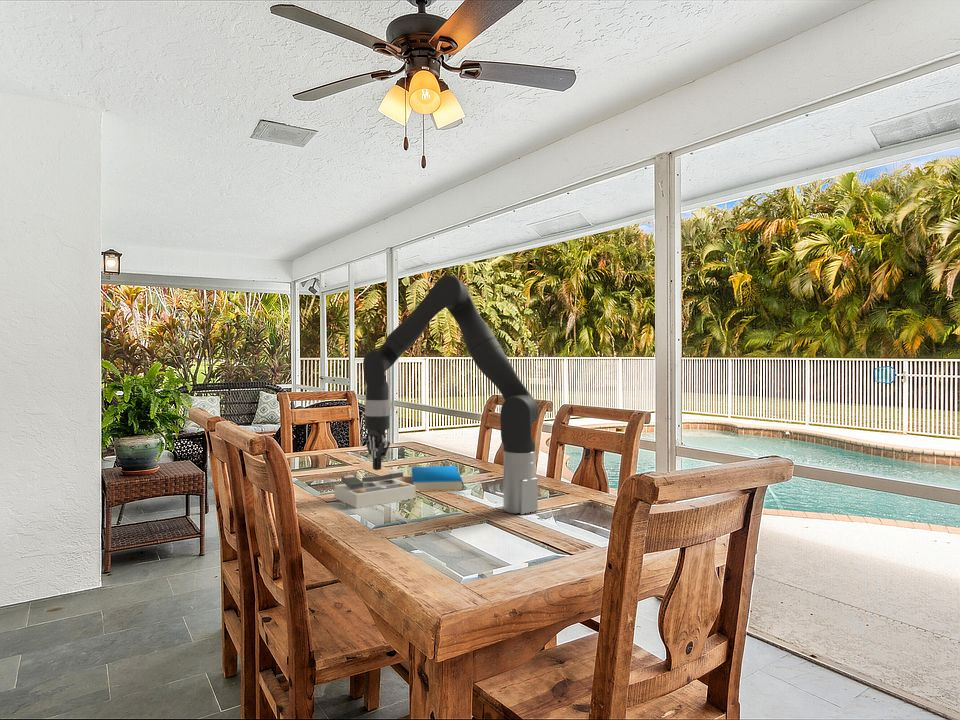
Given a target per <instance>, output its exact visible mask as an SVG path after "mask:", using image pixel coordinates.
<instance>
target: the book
mask: <svg viewBox="0 0 960 720" xmlns="http://www.w3.org/2000/svg"><path fill="white" fill-rule="evenodd" d="M411 476H412V477H411V478H412V485H415V486H416V490H425V491H424V492H429V491H428V490H453V491H463V490H464V482H463V479H462V477H461V475H460V471H458V468H457V467H456V466H454V465H452V466H451V465H449V466H448V465H447V466H443V465H442V466H440V465H439V466H412V467H411ZM426 490H427V491H426Z"/></svg>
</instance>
